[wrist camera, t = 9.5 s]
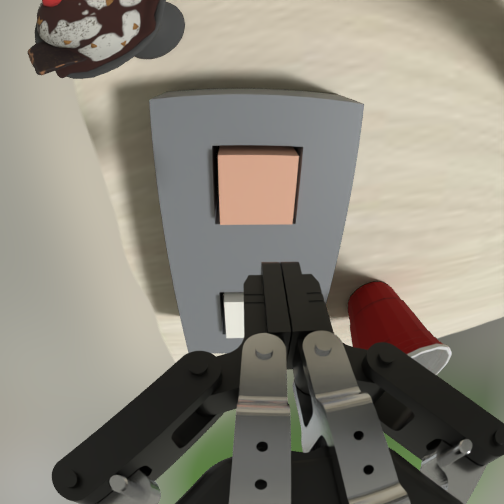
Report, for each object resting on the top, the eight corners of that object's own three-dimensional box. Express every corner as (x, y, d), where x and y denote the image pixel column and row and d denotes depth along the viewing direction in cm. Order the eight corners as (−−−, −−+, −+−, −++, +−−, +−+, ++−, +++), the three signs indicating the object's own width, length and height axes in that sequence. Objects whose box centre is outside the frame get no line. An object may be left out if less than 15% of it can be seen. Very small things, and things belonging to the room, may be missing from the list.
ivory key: (277, 269, 27) (283, 300, 24) (273, 306, 30) (278, 336, 27) (224, 270, 27) (224, 302, 24) (226, 307, 30) (226, 338, 27)
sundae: (188, -20, 14) (119, -117, 2) (203, 56, 18) (142, 41, 6) (105, 8, 14) (-36, -16, 2) (120, 80, 18) (-20, 127, 6)
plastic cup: (382, 330, 37) (411, 404, 27) (314, 325, 35) (334, 413, 25) (425, 271, 31) (472, 348, 21) (353, 255, 29) (398, 351, 19)
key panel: (338, 94, 20) (364, 104, 16) (304, 315, 34) (312, 349, 30) (167, 91, 19) (149, 99, 15) (192, 317, 33) (188, 352, 29)
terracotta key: (288, 139, 20) (298, 156, 17) (283, 198, 23) (292, 224, 20) (221, 139, 20) (217, 155, 17) (222, 198, 23) (220, 224, 20)
